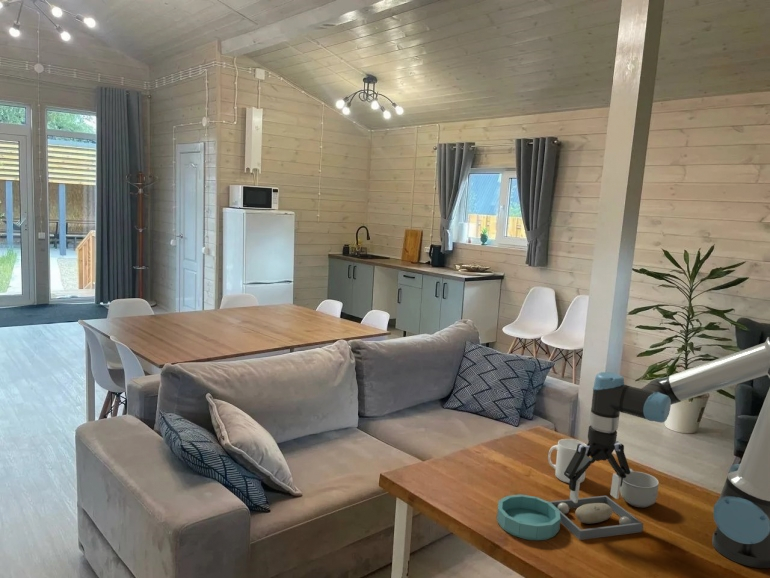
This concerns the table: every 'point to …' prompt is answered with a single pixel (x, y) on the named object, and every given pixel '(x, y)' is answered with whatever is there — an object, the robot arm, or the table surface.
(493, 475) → the table surface
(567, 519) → the tray
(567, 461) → the mug
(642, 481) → the teacup
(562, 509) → the white round ball
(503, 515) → the bowl
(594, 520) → the stone
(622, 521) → the pebble
